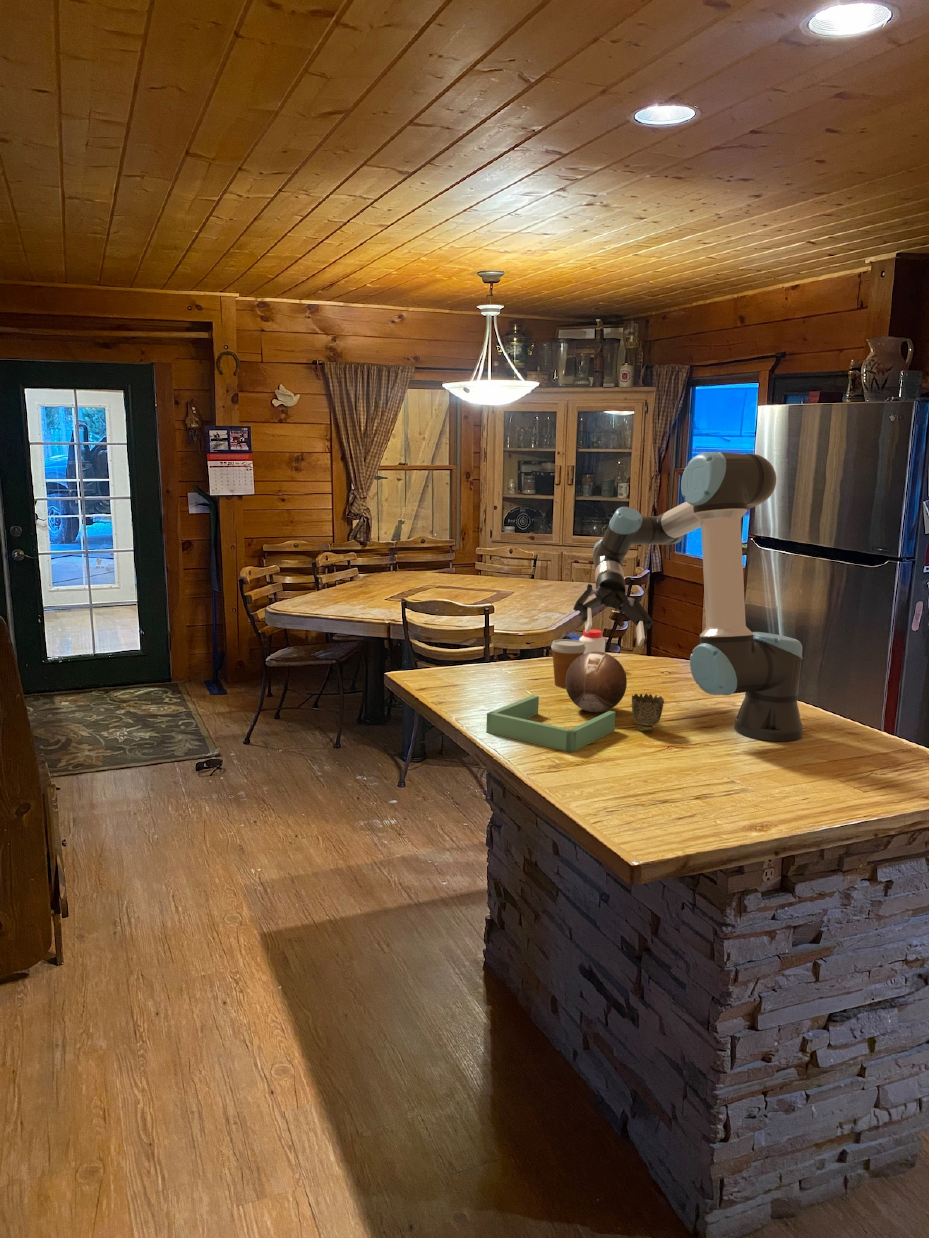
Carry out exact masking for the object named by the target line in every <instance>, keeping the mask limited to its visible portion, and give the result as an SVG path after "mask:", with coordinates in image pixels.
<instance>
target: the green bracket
mask: <svg viewBox="0 0 929 1238" xmlns="http://www.w3.org/2000/svg"><path fill="white" fill-rule="evenodd" d="M539 697H540V696H539V695H530V696H527V697H524V698H523V699H520V700H517V701H515V702H513V703H510V704H507V705H504V706H502V707H499V708H496V709H493V710H492V711H489V712H487V713H486V731H485V732H486V734H487V733H488V734H492V735H496V736H501V737H505V738H508V739H509V738H510V739H513V740H517V741H521V742H526V743H530V744H534V745H538V746H541V747H542V746H544V747H547V748H551V749H555V750H559V751H562V752H563V751H564V752H568V753H574V752H576V751H578V750H580V749H582V748H584V747H586V746H588V745H590V744H592V743H593V742H595V741H597V740H599V739H601V738H603V737H605V736H607V735H609V734H611V733H613V732H614V731H615V728H616V713H617V711H612V710H607V711H605V712H604V713H602V714H599V715H597V716H596V717H593V718H591V719H589V720H587V721H585V722H583V723H580V724H579V725H576V726H574V727H572V728H571V729H570V728H565V727H562V726H556V725H552V724H548V723H543V722H539V721H535V720H534V721H533V720H530V718H532V717H534V716H537V715H539V701H540V700H539V699H540V698H539Z"/></svg>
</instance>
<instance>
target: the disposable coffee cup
mask: <svg viewBox="0 0 929 1238" xmlns="http://www.w3.org/2000/svg"><path fill="white" fill-rule="evenodd" d="M550 647H551V650H552V660H553V661H552V663H553V677H554V685H555V686H556V687H558V688H559V687H560V688H564V689H566V685H565V679H566V674H567V671H568V668H569V667H570V665H571V664H572V662H573V661H574V660H575V659H576V658H578V657H579V656H581V655H583V654H584V651H585V649H586V647H585V645H584V642H581V641H579V639H577V640H576V639H563V638H561V639H556V640H555V639H554V640H553V641H552V643H551V645H550Z"/></svg>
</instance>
